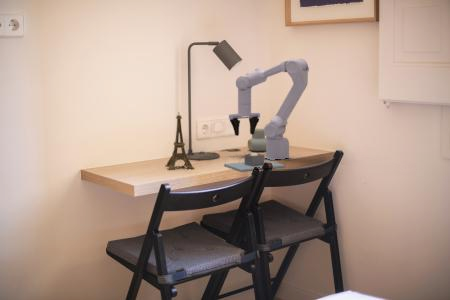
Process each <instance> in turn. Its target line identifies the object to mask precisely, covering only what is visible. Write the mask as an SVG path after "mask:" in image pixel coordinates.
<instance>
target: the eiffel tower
mask: <svg viewBox="0 0 450 300" xmlns="http://www.w3.org/2000/svg"><path fill="white" fill-rule="evenodd" d="M175 118H176V130H175V131H176V132H175V139H174V140H175V141H173V146H174V147H173V151H172V155H171V157H170V158H169V159H168V161H167V163H166V164H165V165H164V166H165V167H167V168H166V169H167V171H175V170H176V168H175V165H176V162H178V161H180V160H182V161H184V163H183V165H184V167H186V169H187V170H189V169H191V170H195V167H193V165H192V163H191V161H190V160H189V158H188V156H187V155H188V154H187V153H186V150H185V145H186V144H185V142H184V138H183V131H182V130H183V129H182V119H183V118H182V115H180V113H177V115H176V117H175ZM179 148H180V149H181V150H180V151H181V152H178V149H179ZM189 171H190V170H189Z"/></svg>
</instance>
